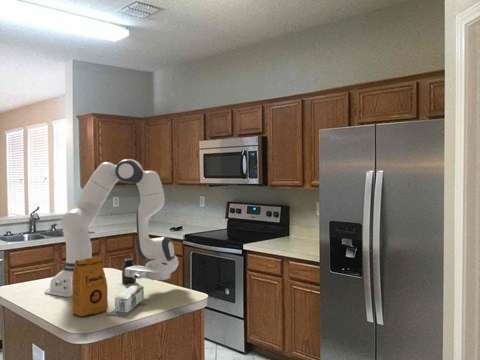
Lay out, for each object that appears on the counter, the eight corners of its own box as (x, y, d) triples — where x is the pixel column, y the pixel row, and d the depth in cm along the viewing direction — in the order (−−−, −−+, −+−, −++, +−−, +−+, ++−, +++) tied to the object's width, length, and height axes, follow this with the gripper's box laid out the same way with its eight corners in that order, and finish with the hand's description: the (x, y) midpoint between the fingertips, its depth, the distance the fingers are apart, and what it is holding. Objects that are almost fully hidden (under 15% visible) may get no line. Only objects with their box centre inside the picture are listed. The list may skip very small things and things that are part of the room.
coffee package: (110, 312, 164) (110, 257, 163) (79, 320, 155) (79, 262, 155) (100, 306, 171) (99, 253, 170) (69, 313, 162) (69, 258, 162)
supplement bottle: (138, 282, 207) (138, 259, 206) (126, 285, 202) (126, 261, 201) (131, 280, 211) (131, 257, 211) (119, 283, 206) (119, 259, 206)
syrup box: (144, 298, 176) (128, 312, 162) (131, 298, 177) (114, 311, 163) (143, 286, 175) (127, 298, 161) (131, 285, 176) (114, 297, 162)
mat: (107, 315, 160) (107, 314, 160) (123, 304, 173) (123, 303, 173) (125, 316, 158) (125, 315, 158) (140, 305, 171) (140, 304, 171)
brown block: (123, 303, 174) (123, 300, 174) (124, 302, 175) (124, 300, 175) (145, 305, 172) (145, 302, 172) (146, 304, 173) (146, 301, 173)
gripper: (135, 261, 192) (115, 267, 179) (173, 264, 184) (155, 271, 171) (135, 274, 192) (116, 281, 179) (173, 278, 184) (155, 286, 171)
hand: (135, 276), depth 175 cm, fingers closed
